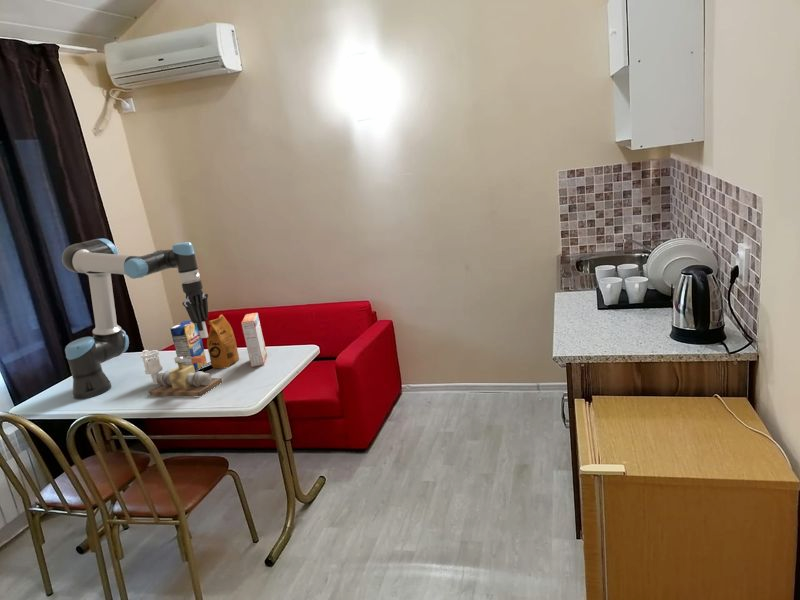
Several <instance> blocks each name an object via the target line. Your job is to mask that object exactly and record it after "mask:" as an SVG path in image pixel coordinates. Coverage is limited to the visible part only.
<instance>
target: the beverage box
mask: <svg viewBox="0 0 800 600" xmlns="http://www.w3.org/2000/svg"><path fill="white" fill-rule="evenodd" d="M169 329H170V334H171V338H172V342H173V346H174V349H175V354H176V357H178V356H183V357H194V356H205V357H206V358H207V356H206V353H205V348H204V346H203V345H204V344H203V340H202V339H203V338H201V336H200V332H199V330H198V327H197V324H196V323H192V321H191V320H183V321H181V322H179V323H177V324H176V325H174V326H172V327H171V328H169ZM206 364H207V365H208V361H207V360H206V361H205V362H203V363H192V362H182V365H183V366H194V369H195V373H196V372H197V371H198V370H199V369H200V368H201V367H202V366H204V365H206Z"/></svg>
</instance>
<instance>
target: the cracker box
mask: <svg viewBox="0 0 800 600" xmlns="http://www.w3.org/2000/svg"><path fill="white" fill-rule="evenodd" d="M260 322H261V321H260V318H259V313H258V312H252V313H246V314H245V315H244V317H243V319H242V321H241V322H240V323H241V329H242V333H243V336H244V341H245V345H246V348H247V349H246V350H247V354H248V358H249V362H250V366H251V368H255V367H259V366H260V367H261V366H264V365H265V362H266V359H267V356H268V352H267V349H266V343H265V340H264V336H263V332H262V331H263V330H262V326H261V323H260ZM254 366H255V367H254Z"/></svg>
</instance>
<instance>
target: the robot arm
mask: <svg viewBox="0 0 800 600" xmlns="http://www.w3.org/2000/svg"><path fill="white" fill-rule="evenodd" d="M61 262H62V265H63V266H64V268H65V269H67V270H68V271H70V272H72V273H79V274H85V275H87V277H88V281H89V289H90V290H89V291H90V295H91V303H92V310H93V318H94V325H95V326H94V327H95V328H93V329H92V336H84V337H80V338H77V339H75V340H73V341H70V342H69V343H68V344H67V345H66V346H65V348H64V353H65V358H66V359H67V363H68V365H69V366H68V367H69V370H70V373H71V377H72V380H73V381H72V391H71V392H72V396H73V398H74V399H77V400H81V399H89V398H92V397H96V396H99V395H102V394H104V393H106V392H107V391H109V390H111V388H112V383H111V380H110V379H109V378H108V377H107V375H106V374H105V372H104V370H103V368H102V364H103V363H105V362H107V361H110V360H112V359H114V358H117V357H119V356H121V355H122V354H124V353H125V352H127V350H128V348H129V344H130V341H129V340H130V339H129V336H128V334H127V333H126V331H125V330H124V329H123V328H122V327H121V326H120V325H118V323H117V314H116V307H115V298H114V292H113V291H114V290H113V283H112V274H114V275H115V274H116V275H126V276H127V277H128V278H130V279H140V278H144V277H146V276H149V275H152V274H155V273H158V272H162V271H165V270H169V269H175V268H177V271H178V276H179V279H180V283H181V288H182V292H183V293H184V294H185V301H183V302H182V303H181V304H182V306H183V307H185V310H186V312H187V314H188V316H189V319H190V321H192V323H196V324H197V327H198V330H199V332H200V336H201V339H208V337H209V336H208V335H209V333H208V325H207V322H208V321H209V319H208V318H209V305H208V304H209V302H208V297H209V295H208V293H204V292H203V288H204V287H203V283H202V280H201V279H200V278H201V276H200V275H201V274H200V271H199V267H198V266H199V265H198V263H197V259H196V253H195V249H194V246H193V243H192V242H190V241H185V242H178V243H175V244H173V245H172V246H171V248H170V249H160V250H156V251H155V250H154V251H153V252H152V253H149V254H144V255H142V256H139V255H138V256H137V255H128V254H127V255H126V254H119V250H118V249H117V247H116V245H115V244H114V243H113V242H112V241H110V240H109V239H108V238H95V239H94V238H93V239H90V240H86V241H83V242H79V243H74V244H71V245H69V246H67V247H66V248H65V249H64V250H63V253H62V254H61Z"/></svg>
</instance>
